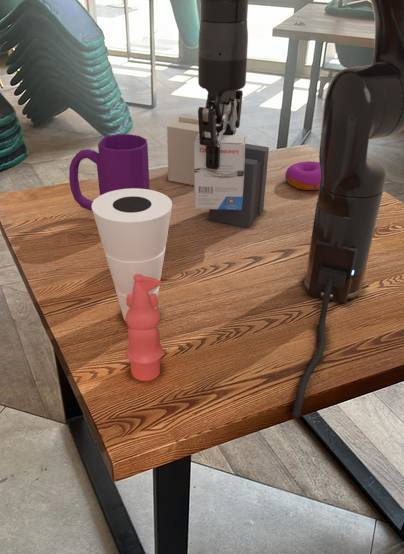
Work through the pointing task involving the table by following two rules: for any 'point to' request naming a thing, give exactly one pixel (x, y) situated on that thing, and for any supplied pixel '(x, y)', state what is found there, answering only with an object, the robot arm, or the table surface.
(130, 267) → the cup
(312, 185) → the donut
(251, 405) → the table surface
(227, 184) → the ink box
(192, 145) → the cream books
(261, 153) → the grey books
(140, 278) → the figurine
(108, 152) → the mug
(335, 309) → the table surface
